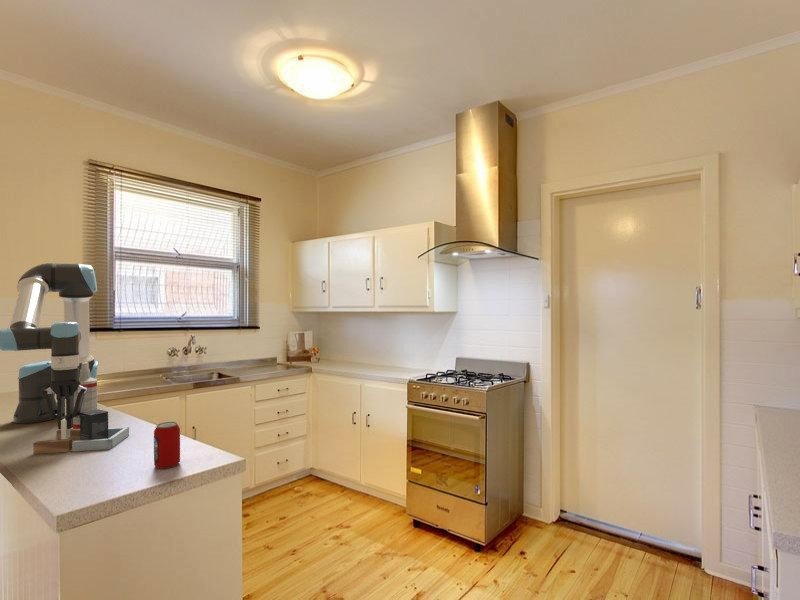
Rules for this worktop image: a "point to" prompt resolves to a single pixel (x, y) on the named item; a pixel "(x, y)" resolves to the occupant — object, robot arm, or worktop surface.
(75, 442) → the bay
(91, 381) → the white bottle
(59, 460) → the worktop surface
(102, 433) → the box
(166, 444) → the beverage can
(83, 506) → the worktop surface
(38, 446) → the brown bar
